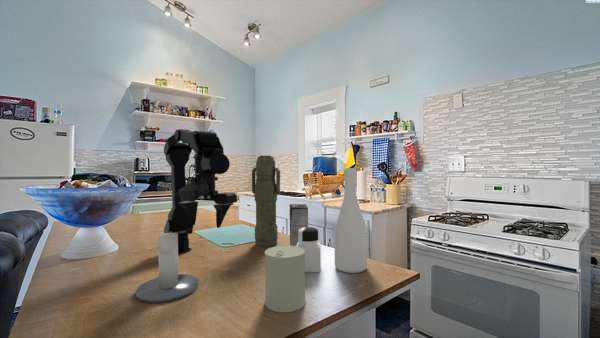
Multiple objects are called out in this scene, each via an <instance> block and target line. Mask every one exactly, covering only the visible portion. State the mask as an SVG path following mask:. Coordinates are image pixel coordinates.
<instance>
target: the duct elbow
mask: <svg viewBox="0 0 600 338" xmlns="http://www.w3.org/2000/svg"><path fill="white" fill-rule="evenodd" d="M157 237H158V241H157V242H158V246H157V250H158V277H159V288H163V289H166V288H172V287H175V286H176V285H178V274H179V254H178V234H177V233H171V232H170V233H165V234H164V233H160V234H159V235H158V236H157Z"/></svg>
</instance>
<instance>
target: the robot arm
mask: <svg viewBox="0 0 600 338" xmlns="http://www.w3.org/2000/svg"><path fill="white" fill-rule="evenodd" d="M224 149H225V148H224V147H223V145H222V142H221V141H220V138H219V136H218V134H217V132H215V131H205V130H190V129H180V128H179V129H176V130H175V132H174V134H172V135H170V137H168V138H167V139H166V141H165V144H164V147H163V154H164V155H165V161H166V162H167V164H168V165H169V166H170V170H171V171H170V173H171V174H170V175H171V176H170V177H171V199H172V201H171V203H172V204H171V209H170V211H169V213H168V214H167V220H166V221H165V225H164V227H163V234H165V233H177V234H178V255H181V254H184V253H186V252H189V251H191V250H192V248H191V247H190V239H189V235H192V234H193V231H194V226H195V225H196V221H197V214H198V208H199V207H198V206H199V201H206V202H207V201H209V202H211V201H212V202H214V203H215V204H212V206H213V207H214V209H215V218H216V219H215V222H216V224H215V225H216V228H217V229H219V228H221V226H222V224H223V221H224V219H225V217H226V215H227V213H228V211H229V210H230V207H231V206H234V203H237V202H238V196H237V193H236V192H230V191H229V192H227V191H226V192H219V190H216V181H218V180H219V177H218V176H216V175H222V174H225V173H226V172H227V171H228V170H229V169H230V165H231V164H230V163H231V162H230V160H229V158H228V156H227V155H225V153H224V152H225V151H224ZM192 151H193V152H194V153H195V154H194V155H193V159H194V177H191V178H190V183H189V184H186V165H187V163H188V162H189V160H190V155H191V153H192Z"/></svg>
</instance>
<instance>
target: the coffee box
mask: <svg viewBox="0 0 600 338" xmlns="http://www.w3.org/2000/svg"><path fill="white" fill-rule="evenodd" d="M304 227H309V207H308V206H307V204H305V203H303V204H300V203H297V204H296V203H293V204H292V203H290V204H289V246H296V245H297V243H298V230H299V229H301V228H304Z"/></svg>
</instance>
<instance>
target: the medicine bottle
mask: <svg viewBox="0 0 600 338" xmlns="http://www.w3.org/2000/svg"><path fill="white" fill-rule="evenodd" d="M296 246H297V247H300V248H303V249H304V250H305V273H320V272H321V263H322V261H321V260H322V259H321V258H322V257H321V256H322V255H321V247H322V246H321V242H320V241H319V230H318V228H315V227H311V226H308V227H304V228H301V229H299V230H298V243H297V245H296Z"/></svg>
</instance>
